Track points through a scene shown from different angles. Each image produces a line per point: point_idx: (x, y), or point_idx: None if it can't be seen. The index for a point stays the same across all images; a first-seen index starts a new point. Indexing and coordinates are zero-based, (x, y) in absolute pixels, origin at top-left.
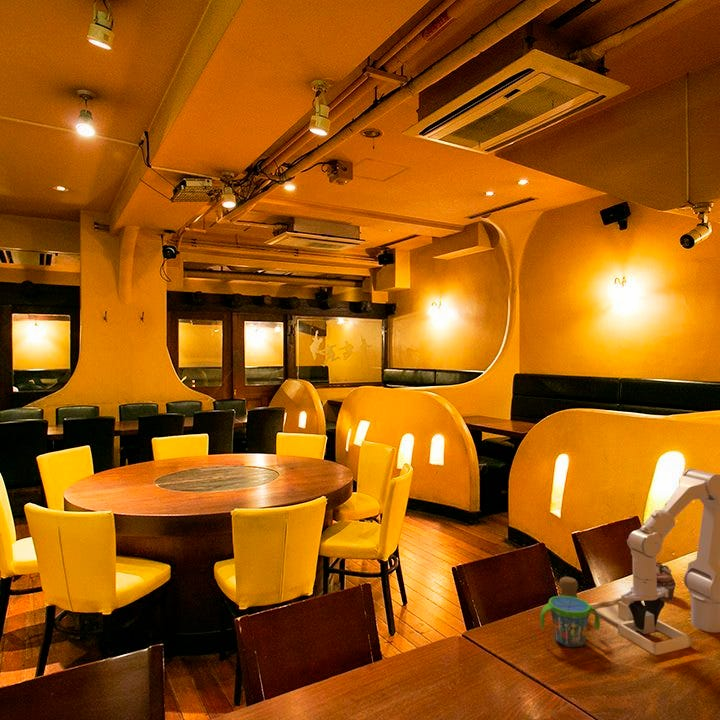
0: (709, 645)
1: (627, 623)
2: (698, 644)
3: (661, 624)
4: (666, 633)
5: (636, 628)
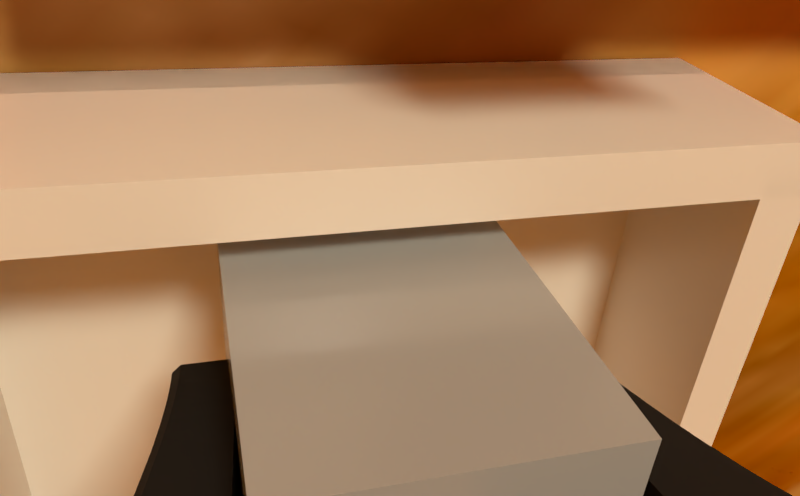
0: (783, 476)
1: (61, 252)
2: (728, 453)
3: (681, 371)
4: (611, 369)
5: (221, 300)
